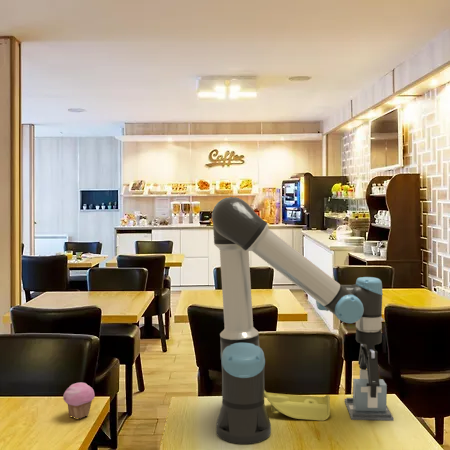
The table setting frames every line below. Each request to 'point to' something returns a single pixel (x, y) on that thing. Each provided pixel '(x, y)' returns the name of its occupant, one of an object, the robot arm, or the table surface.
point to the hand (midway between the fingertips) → (368, 398)
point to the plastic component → (300, 406)
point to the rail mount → (367, 413)
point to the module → (362, 395)
